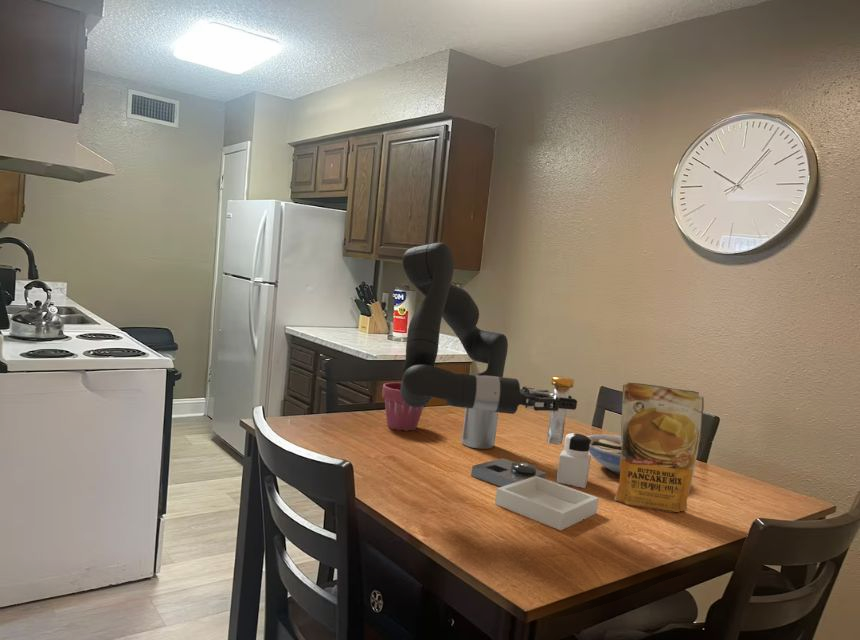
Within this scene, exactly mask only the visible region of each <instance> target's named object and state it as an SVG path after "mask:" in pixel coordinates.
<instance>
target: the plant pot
mask: <svg viewBox="0 0 860 640" xmlns="http://www.w3.org/2000/svg"><path fill="white" fill-rule="evenodd" d="M401 382H402V381H401ZM401 382H400V381H399V382H397V381H394V382H387V383H383V385H382V391H381V397H382V398H383V399H384V408H385V416H386V418H385V419H386V426H387V427H388V428H390V429H391V430H395V429H396V431H401V430H404V431H405V432H407V431H408V430H409V432H411V431H410V430H412V431H415V430H416V429H417V428H418V424H419V421H420V418H421V415H422V413H423V410H424V407H425V405H424V406H421V407H411V406H409V405H408V404H406V403H405V402H404V400H403V398H402V396H401V391H400V389H401ZM404 431H403V432H404Z"/></svg>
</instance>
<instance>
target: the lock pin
mask: <svg viewBox="0 0 860 640" xmlns="http://www.w3.org/2000/svg"><path fill="white" fill-rule="evenodd" d="M551 377H552V378H551V383H550V384H551V385H553V386H554V387H553V396H558V397H561V398H568V397H569V395H570V389H571V388H574V383H575V380H574V379H573V378H570V377H565V376H557V375H556V376H551ZM551 405H553V401H552V404H551ZM567 411H568V409H562V408H559V409H558V411H550V414H549V415H550V416H549V423H548V424H549V425H548V432H547V438H546V442H547V443H549V444H552V445H562V444H563V438H564V431H565V425H566V424H565V423H566V418H567Z"/></svg>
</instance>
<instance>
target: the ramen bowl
mask: <svg viewBox="0 0 860 640" xmlns="http://www.w3.org/2000/svg"><path fill="white" fill-rule="evenodd" d="M586 436H587V435H586ZM587 437H588V438H589V439H590V446H589V454H591V457H592V458H593V459H594V460H595V461H597V462H598V463H599V464H600V465H602V466H603V467H605V468H606V469H609V471H610V472H612V473H614V474H617V475H620V459H621V450H622V445H621V435H612V434H591V435H588V436H587Z"/></svg>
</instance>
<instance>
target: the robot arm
mask: <svg viewBox="0 0 860 640" xmlns="http://www.w3.org/2000/svg"><path fill="white" fill-rule="evenodd" d="M450 248H451V247H449V245H448V244H446V243H445V242H443V241H442V242H434V243H429V244H423V245H419V246H413V247H411V248H409V249H407V250H406V251H405V252H404V253H403V255H402V267H403V271H404V274H405V275H406V277H407V279H408V281H410V283H411V284H412V285H413V287H415V288H416V289H417V290H418V291H419V292H420V293H421V294H422V295H423V296H424V299H423V300H422V302H421V303H420V305H419V306H418V308H417V309H416V311H415V312H414V313H413V316H412V317H411V320H410V322H409V324H408V329H407V335H406V345H405V360H404V361H405V362H404V366H403V371H402V379H401V389H400V391H401V396H402V398H403V400H404V402H405V403H406V404H408V405H409V406H411V407H421V406H424V407H425V405H427V404H428V403H429V402H430V400H431V399H432V398H436V399H441V400H445V402H446V404H447V405H449V406H451V407H454V408H455V407H456V408H464V409H465V410H464V420H463V426H462V437H461V444H462V445H464V446H466V447H469V448H472V449H473V448H474V449H477V450H478V449H481V450H486V449H493V447H494V446H495V443H496V436H497V427H498V419H499V414H512V415H513V414H516V412H517V411H518V407H519V406H524V407H525V409H529V410H534V411H536V412H538V411H540V412H541V411H549V412H551V411H558V409H559V408H562V409H567V410H571V411H572V410H574V411H575V410H576V409H577V405H578V400H577V399H575V398H573V397H572V396H571V395H570V394H569V397H568V398H561V397H558V396H553V393H554V391H550V390H548V389H546V390H545V389H542V388H535V387H530V386H528V387H527V386H522V388H521V385H520V381H519V380H518V378H512V377H504V371H505V368H506V367H505V365H506V361H507V356H508V347H509V344H508V338H507V336H506V335H505V334H504V333H500V332H494V331H488V330H483V329H480V328H479V327H478V326H477V325H478V323H479V320H480V310H479V307H478V305H477V304H476V302H475V301H474V299H473V298H472V296H471V295H470V294H469V292H468V291H466V290H465V289H464V288H462V287H459V286H458V285H456V284H453V283H452V280H453V275H454V268H455V265H454V263H455V261H454V256H453V252H452V250H451V249H450ZM442 319H443V321H444V322H445V323H446V324H447V325H448V326H449V328H451V330H452V331H453V332H454V334H455V335H456V337H457V338H458V339H459V341H460V344H461V346H463V348H464V351H465V352H466V354H467V356H468V357H469V358H470V359H471V360H473V361H475V362H477V363H482V364H487V367H486V370H483V372H479V373H473V374H466V373H455V372H453V371H450V370H446V369H444V368H440V367H438V366H435V364H436V359H437V356H438V353H439V342H440V329H441V323H442ZM552 401H553V405H552Z"/></svg>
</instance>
